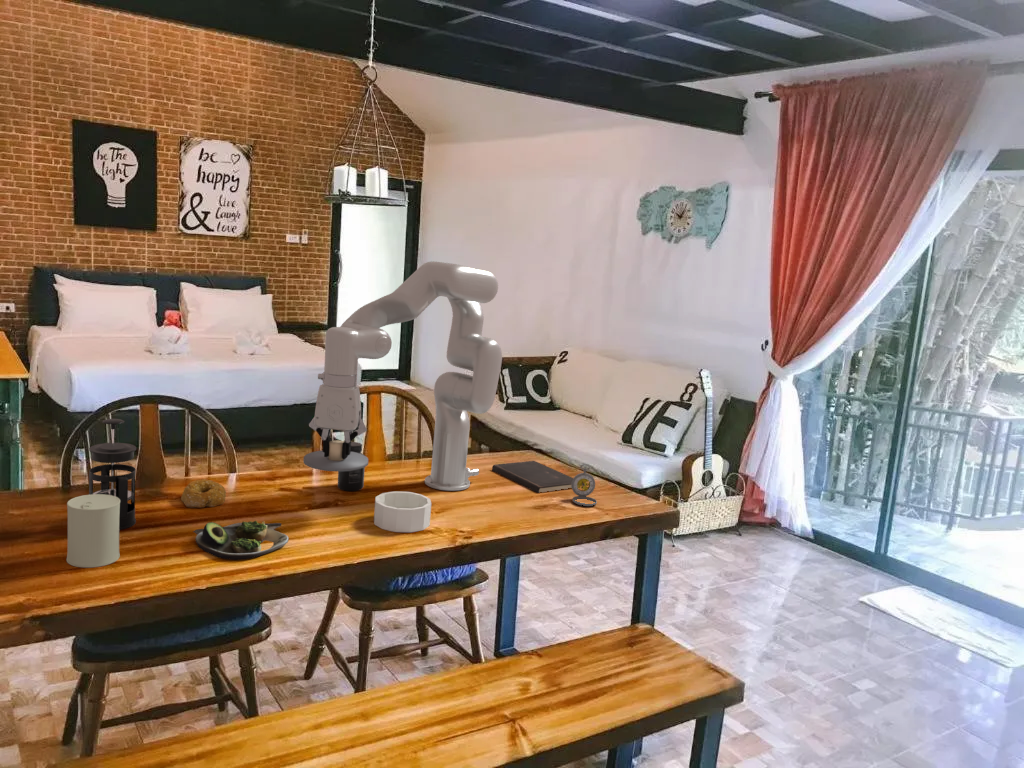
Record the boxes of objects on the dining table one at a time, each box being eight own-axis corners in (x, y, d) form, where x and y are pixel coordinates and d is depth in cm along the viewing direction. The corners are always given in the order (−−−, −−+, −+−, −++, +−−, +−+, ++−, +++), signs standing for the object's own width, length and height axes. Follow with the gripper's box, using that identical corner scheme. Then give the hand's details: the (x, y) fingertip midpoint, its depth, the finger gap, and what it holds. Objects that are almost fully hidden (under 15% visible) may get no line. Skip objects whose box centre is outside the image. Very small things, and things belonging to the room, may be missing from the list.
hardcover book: (533, 467, 255) (534, 460, 254) (581, 489, 236) (582, 482, 236) (491, 472, 245) (492, 464, 245) (538, 495, 227) (539, 487, 227)
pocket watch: (584, 508, 217) (588, 472, 215) (562, 499, 223) (566, 464, 222) (605, 504, 223) (609, 469, 221) (583, 495, 229) (587, 461, 227)
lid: (346, 450, 203) (347, 431, 202) (380, 466, 192) (381, 446, 192) (291, 457, 193) (292, 438, 192) (323, 474, 182) (325, 454, 181)
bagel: (170, 505, 190) (171, 486, 189) (198, 493, 201) (199, 474, 200) (208, 513, 188) (209, 493, 187) (234, 500, 199) (235, 481, 198)
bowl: (409, 510, 203) (411, 488, 202) (439, 526, 193) (441, 504, 192) (363, 517, 194) (365, 495, 193) (393, 535, 185) (394, 512, 184)
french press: (80, 519, 176) (80, 416, 172) (125, 512, 183) (127, 412, 179) (99, 536, 168) (100, 428, 164) (145, 528, 175) (147, 424, 171)
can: (57, 566, 153) (57, 505, 151) (78, 548, 162) (79, 490, 160) (109, 569, 154) (109, 508, 152) (127, 550, 163) (127, 493, 161)
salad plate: (257, 521, 186) (258, 502, 186) (309, 543, 176) (310, 523, 176) (180, 541, 171) (181, 520, 170) (232, 567, 161) (233, 545, 160)
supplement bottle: (366, 485, 219) (369, 442, 217) (359, 493, 212) (362, 448, 210) (341, 482, 219) (344, 439, 217) (333, 489, 213) (336, 445, 210)
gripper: (300, 379, 186) (296, 457, 189) (371, 387, 185) (366, 464, 188) (310, 374, 193) (307, 448, 197) (379, 381, 192) (374, 456, 196)
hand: (336, 455), depth 192 cm, fingers closed on lid, 3 cm apart
